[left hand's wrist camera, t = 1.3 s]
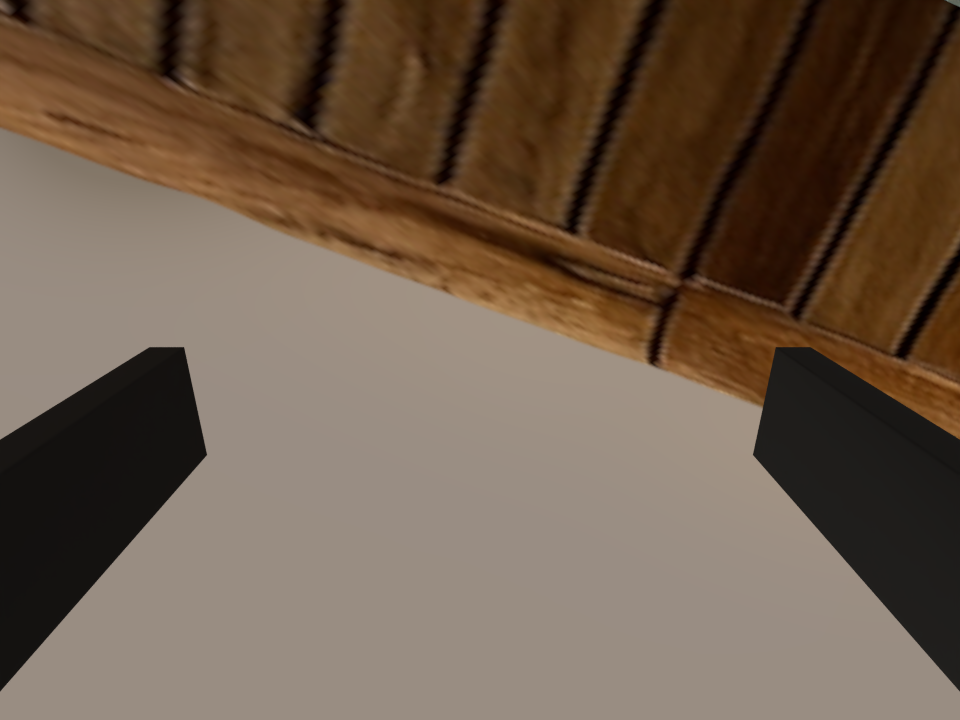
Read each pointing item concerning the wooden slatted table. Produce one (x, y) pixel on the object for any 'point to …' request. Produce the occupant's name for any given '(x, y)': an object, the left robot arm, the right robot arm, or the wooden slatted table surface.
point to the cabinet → (954, 2)
